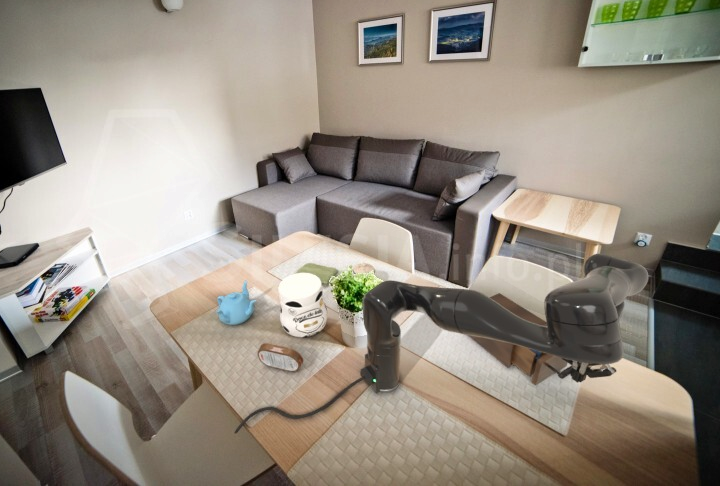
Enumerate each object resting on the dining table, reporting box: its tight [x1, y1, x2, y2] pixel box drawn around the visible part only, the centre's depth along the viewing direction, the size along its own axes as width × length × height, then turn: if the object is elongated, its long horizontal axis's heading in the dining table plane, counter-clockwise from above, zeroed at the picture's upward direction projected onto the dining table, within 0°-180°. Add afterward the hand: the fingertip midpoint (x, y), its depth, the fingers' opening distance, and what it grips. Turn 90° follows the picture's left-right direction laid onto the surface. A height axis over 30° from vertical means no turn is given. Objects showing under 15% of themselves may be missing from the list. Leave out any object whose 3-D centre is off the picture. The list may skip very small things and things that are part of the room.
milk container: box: [277, 272, 328, 339], centre depth 117 cm, size 17×17×18 cm
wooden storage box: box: [467, 292, 547, 369], centre depth 105 cm, size 17×15×11 cm
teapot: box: [214, 280, 257, 326], centre depth 126 cm, size 15×15×10 cm
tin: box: [257, 342, 304, 373], centre depth 103 cm, size 15×3×8 cm, turn 71°
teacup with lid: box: [352, 262, 376, 275], centre depth 137 cm, size 12×9×12 cm
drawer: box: [511, 345, 572, 386], centre depth 96 cm, size 20×14×9 cm
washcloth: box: [293, 262, 339, 287], centre depth 148 cm, size 13×18×3 cm
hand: (576, 379), depth 87 cm, fingers closed
